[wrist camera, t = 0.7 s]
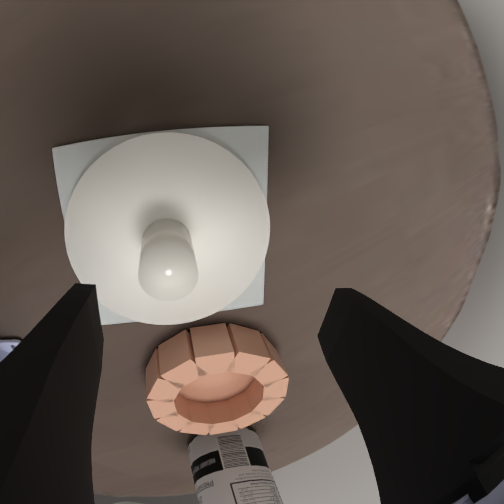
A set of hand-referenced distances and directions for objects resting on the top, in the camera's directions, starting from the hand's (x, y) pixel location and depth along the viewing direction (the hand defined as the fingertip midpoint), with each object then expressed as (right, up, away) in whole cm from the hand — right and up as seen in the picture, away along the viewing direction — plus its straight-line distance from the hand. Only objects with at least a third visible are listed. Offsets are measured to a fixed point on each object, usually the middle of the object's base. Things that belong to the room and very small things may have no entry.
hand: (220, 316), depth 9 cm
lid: (-4, +3, +9) cm, 10 cm away
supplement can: (-3, -20, +22) cm, 29 cm away
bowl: (-2, -8, +16) cm, 18 cm away
